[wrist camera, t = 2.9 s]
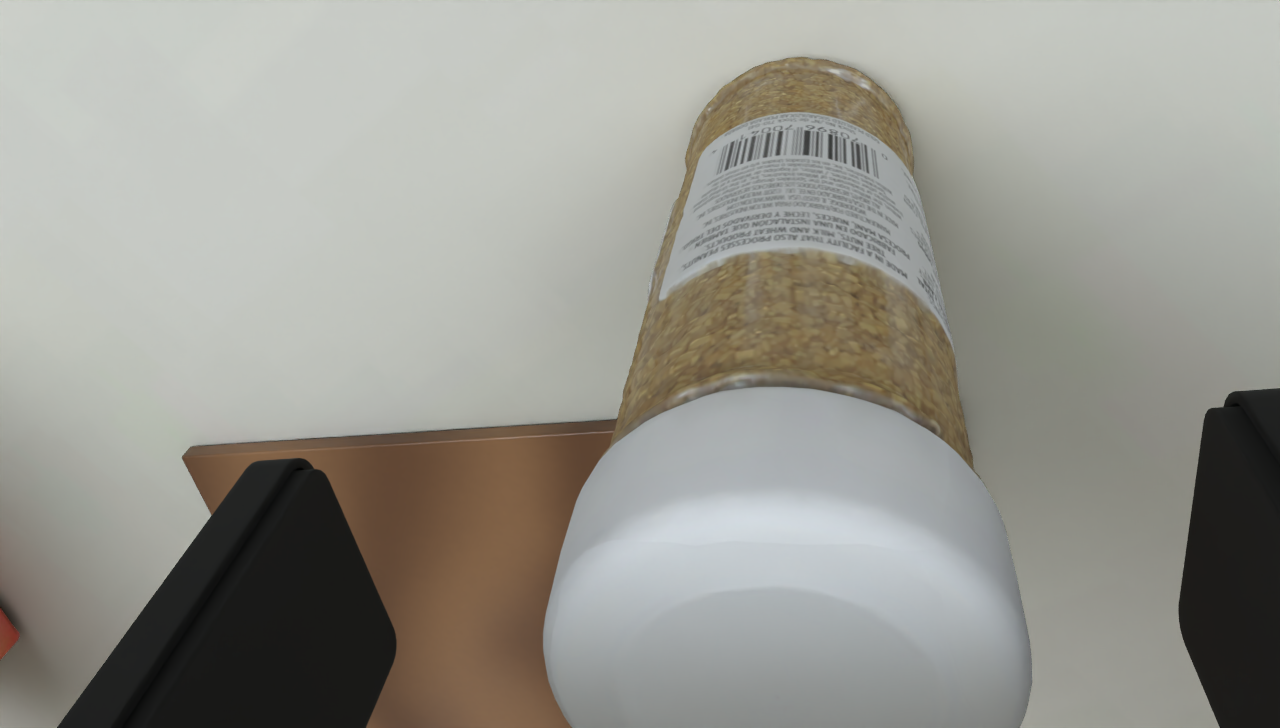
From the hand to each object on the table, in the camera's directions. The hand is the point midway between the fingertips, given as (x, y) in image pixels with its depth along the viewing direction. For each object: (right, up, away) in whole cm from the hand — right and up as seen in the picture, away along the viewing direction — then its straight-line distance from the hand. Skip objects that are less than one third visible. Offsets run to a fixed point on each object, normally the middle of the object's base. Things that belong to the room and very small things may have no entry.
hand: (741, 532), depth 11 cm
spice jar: (+2, +6, +10) cm, 12 cm away
